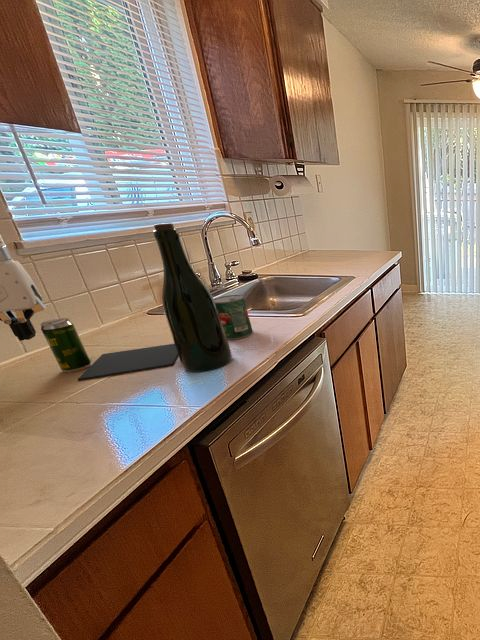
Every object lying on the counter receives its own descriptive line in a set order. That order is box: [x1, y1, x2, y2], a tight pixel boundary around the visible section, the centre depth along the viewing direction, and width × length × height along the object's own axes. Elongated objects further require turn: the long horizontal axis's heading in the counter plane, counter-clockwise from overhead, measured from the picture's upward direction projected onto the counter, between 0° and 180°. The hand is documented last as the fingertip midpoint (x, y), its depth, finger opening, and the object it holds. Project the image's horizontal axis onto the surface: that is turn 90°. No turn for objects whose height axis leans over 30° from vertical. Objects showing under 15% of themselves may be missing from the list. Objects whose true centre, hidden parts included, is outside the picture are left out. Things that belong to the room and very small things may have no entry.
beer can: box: [39, 317, 92, 373], centre depth 95 cm, size 5×5×12 cm
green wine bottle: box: [153, 222, 233, 373], centre depth 91 cm, size 10×10×33 cm
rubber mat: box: [77, 343, 179, 382], centre depth 101 cm, size 18×16×1 cm
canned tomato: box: [213, 294, 254, 341], centre depth 114 cm, size 8×8×11 cm
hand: (27, 338), depth 91 cm, fingers closed
